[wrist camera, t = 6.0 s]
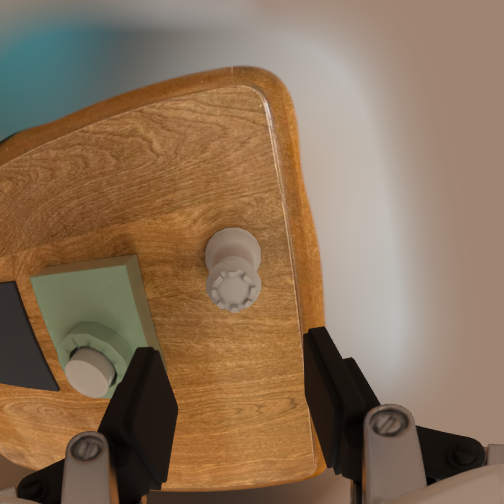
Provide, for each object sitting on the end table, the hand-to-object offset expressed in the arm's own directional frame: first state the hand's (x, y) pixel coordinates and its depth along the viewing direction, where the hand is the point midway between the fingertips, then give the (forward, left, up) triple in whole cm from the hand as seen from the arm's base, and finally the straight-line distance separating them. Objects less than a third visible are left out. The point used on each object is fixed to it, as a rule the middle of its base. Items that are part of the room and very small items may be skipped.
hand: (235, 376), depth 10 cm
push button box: (+5, -13, -15) cm, 21 cm away
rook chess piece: (0, 0, -16) cm, 16 cm away
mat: (+7, -30, -15) cm, 34 cm away
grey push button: (+7, -13, -11) cm, 18 cm away
